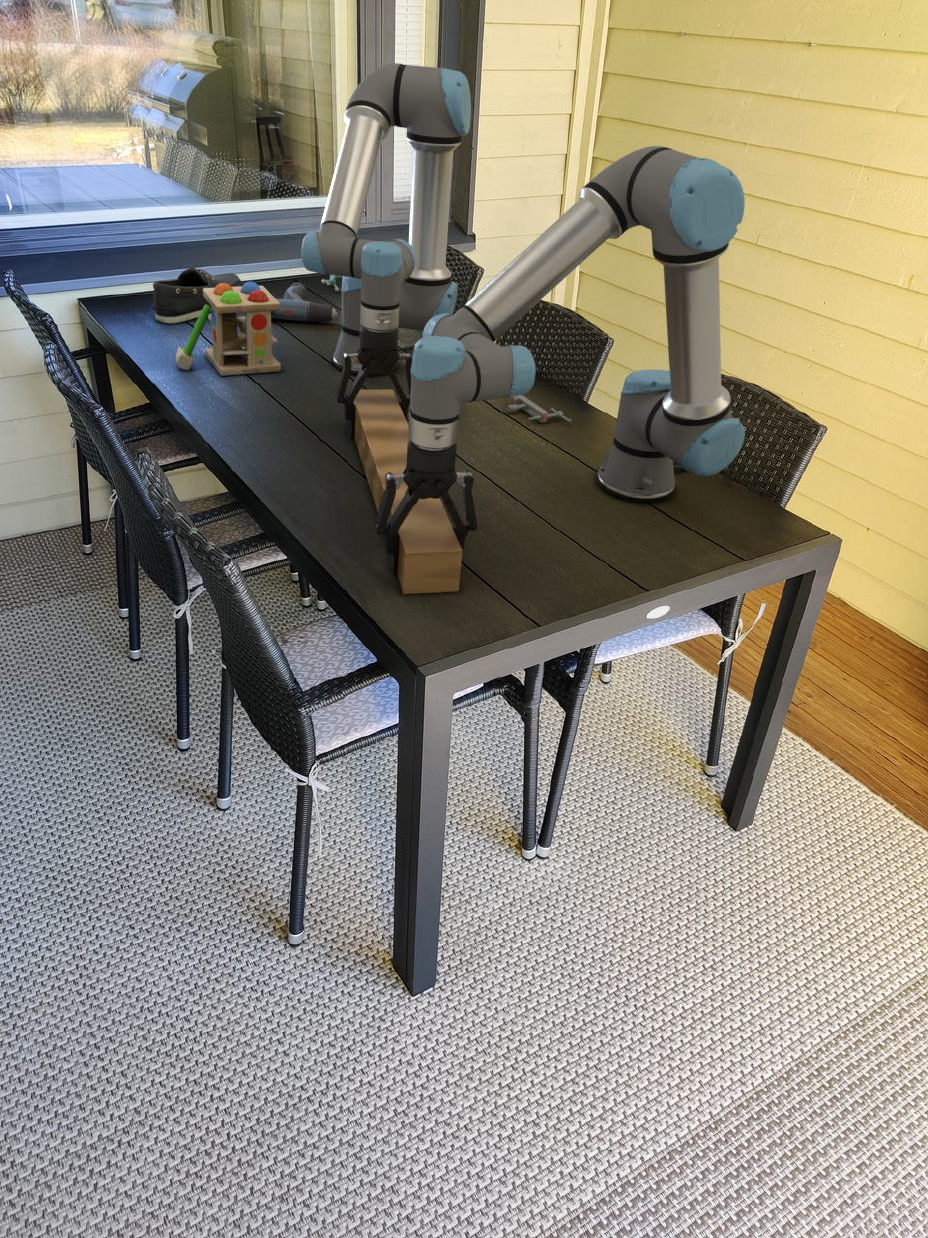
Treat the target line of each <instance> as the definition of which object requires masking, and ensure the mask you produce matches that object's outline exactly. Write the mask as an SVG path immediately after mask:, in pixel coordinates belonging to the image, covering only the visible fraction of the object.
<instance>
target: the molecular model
mask: <svg viewBox="0 0 928 1238" xmlns="http://www.w3.org/2000/svg"><path fill="white" fill-rule="evenodd" d="M339 278H340V279H341V278H343V276H337V275H329V279H321V283H322V284H327V286H329V287H330V286H332V285H333V287H334V291H335V292H337V293H338V292H339V291H340V287H339V286H337V284H336V283H337V282H336V279H339Z"/></svg>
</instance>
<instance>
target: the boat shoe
mask: <svg viewBox="0 0 928 1238" xmlns="http://www.w3.org/2000/svg"><path fill="white" fill-rule="evenodd" d="M221 283H226V284H228V285H230V286H231V287H242V286H243V281H242V280H241V279H240V277H239V276H238V275H237V274H235V273H231V272H230V273H228V272H227V273H223V274H217V275H213V276H212V275H211V274H210V273H209V272H207V271H205V270H204V269H199V268H195V267H189V268H187V269H184V270H183V271H182V272H180V274H179V275H178V276H177V278H176V279H170V280H169V279H168V280H156V281H153V282H152V289H153V304H152V308H154V310H155V311H154V317H155V320H156V321H159V322H160V323H164V324H176V323H177V324H178V323H183V322H186V321H190V320H193V319H198V318H199V316H200V314H201V311H202V309H203V307H204V305H208V306H210V307H211V305H210V304H209V302H208V301H207V300H206V299H205V297H204V296H203V289H204V288H215V287H216V286H217V285H218V284H221ZM210 312H211V310H210Z"/></svg>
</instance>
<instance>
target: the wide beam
mask: <svg viewBox="0 0 928 1238" xmlns="http://www.w3.org/2000/svg"><path fill="white" fill-rule="evenodd" d="M353 402H354V404H355V437H353V438H354V441H355V444H356V449H357V451H358V454H359V458H360V461H361V464H362V465H363V470H364V473H365V476H366V479H367V483H368V486H369V489H370V493H371V495H372V499H373V503H374V505H375V508H376V511H377V512H378V511H379V508H380V504H381V501H382V498H383V494H384V491H385V488H386V479H385V475H386V473H388V472H391V473H392V474H393V475H394V474H402V473H403V472H404V470H405V468H406V462H407V445H408V441H409V438H408V428H409V422H408V420H407V419H405V416H404V414H403V412H402V409H401V407H400V405H399V402H400V401H399V400H398V398H397V395H396V393H395V391H394V389H393V388H391V389H390V388H389V389H378V388H377V389H360V391H359V393H358V394H357V396H356V398H355V400H354V401H353ZM407 488H408V486H407V484H406V483H405V482H402V483H401V484H400V487H399V489H396V495H395V499H394V502H393V505H392V509H391V512H390V515H389V518H388V522H389V520H390V519H391V517H392V515H393V514H394V512H395V510H396V509H397V507H398V505H399V504H400V502H401V500H402V499H403V497H404V495H405V492H406V490H407ZM388 522H387V523H388ZM453 528H454V527H453V526H452V523H451V521H450V518H449V516H448V514H447V512H446V509H445V507H444V505H443V502H442V499H441V497H439V499H433V498H427V499H419V500H418V502H417V503H416V505H414V506H413V507H412V509H411V511H410V512H409V514H408V516H407V517H406V519H405V520H404V522H403V524H402V525H401V527H400V529H399V530H398V535H399V538H400V542H399V561H398V573H396V574H397V578H398V580H399V584H400V588H401V591H402V594H403V595H409V594H410V595H411V594H413V595H414V594H431V593H432V594H433V593H450V592H451V593H452V592H459V591H460V581H461V573H462V572H461V571H462V561H463V551H462V549H461V546H460V544H459V542H458V539H457V537H456V535H455V532H454V530H453ZM384 536H385V538H386V535H384Z"/></svg>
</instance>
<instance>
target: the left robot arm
mask: <svg viewBox="0 0 928 1238" xmlns="http://www.w3.org/2000/svg"><path fill="white" fill-rule="evenodd" d="M471 119H472V97H471V89H470V84H469V81H468V78H467V76H466V75H465V74H464V73H463V72H461V71H459V70H454V69H449V68H445V67H435V66H422V65H413V64H412V65H411V64H403V63H399V62H398V63H397V62H395V63H394V62H393V63H388V64H387V63H386V64H384V65H382V66H379V67H377V68H376V69H375V70H373V71H371V72H370V73H368V74H367V75H366V77H364V78H363V79H362V80H361V81H360V83H359V84H358V85H357V86H356V88H355V90H354V91H353V92H352V94H351V96H350V98H349V99H348V102H347V105H346V108H345V112H344V115H343V122H344V125H345V131H344V135H343V139H342V143H341V147H340V150H339V154H338V157H337V161H336V165H335V170H334V172H333V176H332V179H331V180H332V181H331V184H330V187H329V192H328V195H327V199H326V203H325V207H324V211H323V214H322V218H321V222H320V226H319V230H318V231H309V232H307V233H306V234H305V236H304V237H303V240H302V243H301V255H300V256H301V262H302V264H303V267H304V268H305V270H307V271H308V272H312V273H315V274H316V273H317V274H320V275H324V276H326V275H329V276H330V275H337V276H343V277H342V281H341V287H340V292H341V316H340V317H341V319H340V321H341V324H340V325H341V326H340V329H341V330H340V336H339V338H338V341H337V344H336V348H335V350H334V352H333V361H332V362H333V363H332V364H333V366H334V367H335V368H337V369H338V370H339V371H341V373H340V378H339V380H338V381H339V382H338V385H337V388H336V389H337V390H336V393H335V398H336V402H337V404H342V405H344V418H345V420H346V421H349V430H348V431H349V435H350V438H354V437H355V404H354V402H353V401H354V400H355V398H356V396H357V394H358V393H359V391H360V390H362V387H363V385H364V384H365V382H366V380H367V379H368V378H369V377H370V376H380V375H381V376H382V375H388V376H389V379H390V381H391V382H392V385H393V387H394V390H395V391H396V393H397V395H398V397H399V399H400V401H398V402H399V405H400V407H401V409H402V412H403V414H404V416H405V419H406V420H407V419H408V411H409V407H410V394H411V367H412V359H413V355H412V354H411V353H410V352H406V353H400V352H405V351H410V350H414V347H415V344H414V345H410V346H404V347H399V346H398V345H399V329H406V330H411V331H412V330H413V331H419V332H423V331H424V328H425V326H426V324H427V323H428V322H429V320H430V319H431V318H433V317H434V316H436V315H439V314H443V313H447V314H452V315H454V311H455V307H456V302H457V297H458V290H459V289H458V288H459V286H458V283H457V282H455V281H452V272H451V270H450V269H449V268H448V266H447V265H446V260H447V247H448V232H449V217H450V203H451V191H452V189H451V188H452V176H453V175H452V174H453V160H454V151H456V149H457V148H458V147H459V146H460V145H461V144H462V137H465V136H467V135H468V134H469V132H470V128H471ZM392 127H397V128H403V129H406V140H407V141H408V143H409V144H410V145H411V147H412V165H411V166H412V167H411V185H410V205H409V227H408V228H409V229H408V241H406V240H405V239H401V238H395V239H392V240H388V241H382V240H373V239H372V240H371V239H365V238H358V233H359V229H360V225H361V223H362V218H363V215H364V214H363V213H364V211H365V210H364V209H365V206H366V203H367V198H368V195H369V191H370V187H371V184H372V179H373V175H374V170H375V168H376V163H377V160H378V157H379V152H380V148H381V144H382V141H383V140H384V139H386V138H387V137H388V135H389V133H390V129H391V128H392ZM398 328H399V329H398ZM399 361H400V363H401V365H402V366H403V371H404V374H405V380H406V385H407V391H408V395H406V394H405V391H404V390H403V388H402V386H401V383H400V381H399V379H398V377H397V374H396V373H395V369H396V368H397V363H398V362H399ZM351 374H352V375H356V377H355V379H354V381H353V382H352V384H351V385H350V388H349V389H348V391H347V388H348V383H349V380H350V376H351ZM346 392H347V393H346Z"/></svg>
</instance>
